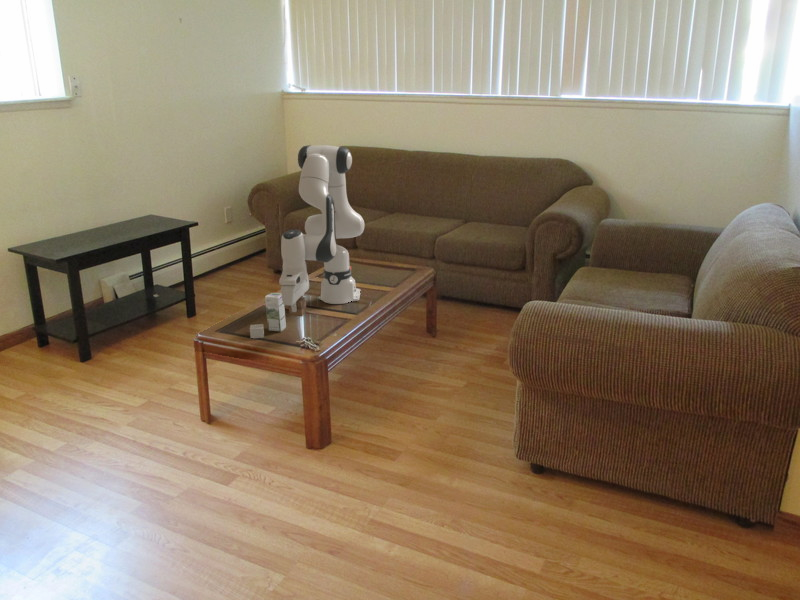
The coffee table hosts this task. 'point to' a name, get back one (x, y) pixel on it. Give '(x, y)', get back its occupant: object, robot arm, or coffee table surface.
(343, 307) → the coffee table surface
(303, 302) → the walnut block
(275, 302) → the syrup box
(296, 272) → the robot arm
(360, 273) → the coffee table surface
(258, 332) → the grey block
